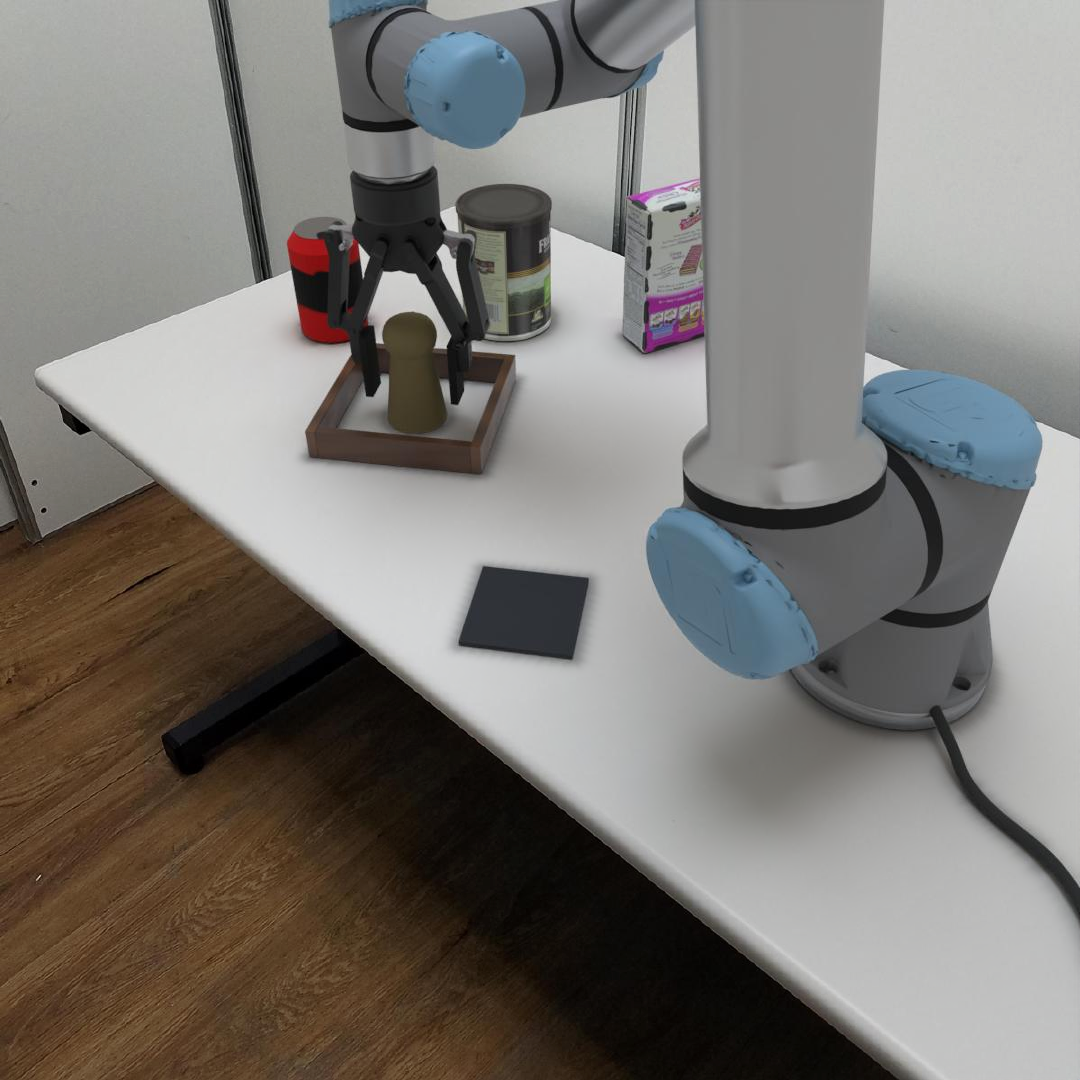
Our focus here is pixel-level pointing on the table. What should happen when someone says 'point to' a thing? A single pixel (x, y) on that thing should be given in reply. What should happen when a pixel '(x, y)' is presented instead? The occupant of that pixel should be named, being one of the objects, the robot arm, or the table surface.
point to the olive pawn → (413, 374)
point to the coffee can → (511, 256)
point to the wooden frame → (407, 448)
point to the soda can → (319, 278)
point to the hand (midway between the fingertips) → (415, 393)
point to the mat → (525, 612)
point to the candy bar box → (663, 267)
